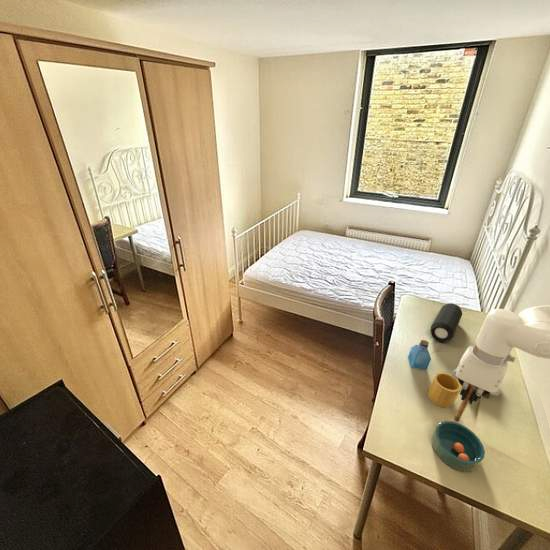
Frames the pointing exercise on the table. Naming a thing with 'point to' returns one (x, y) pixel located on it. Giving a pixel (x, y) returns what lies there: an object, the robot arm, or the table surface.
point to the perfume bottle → (420, 355)
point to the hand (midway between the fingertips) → (466, 398)
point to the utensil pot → (444, 390)
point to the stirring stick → (464, 403)
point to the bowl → (457, 433)
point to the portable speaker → (446, 322)
